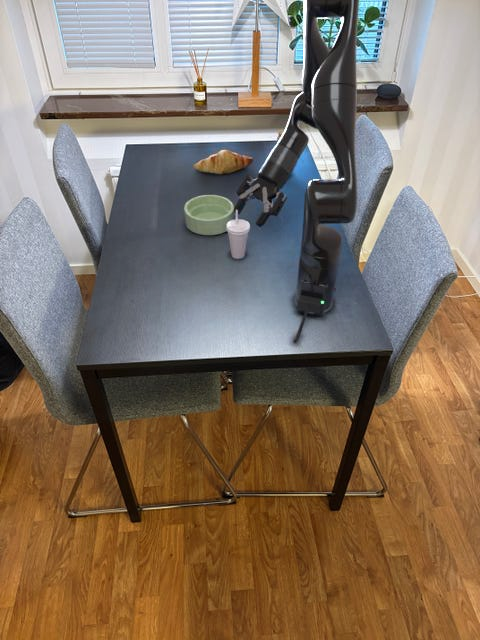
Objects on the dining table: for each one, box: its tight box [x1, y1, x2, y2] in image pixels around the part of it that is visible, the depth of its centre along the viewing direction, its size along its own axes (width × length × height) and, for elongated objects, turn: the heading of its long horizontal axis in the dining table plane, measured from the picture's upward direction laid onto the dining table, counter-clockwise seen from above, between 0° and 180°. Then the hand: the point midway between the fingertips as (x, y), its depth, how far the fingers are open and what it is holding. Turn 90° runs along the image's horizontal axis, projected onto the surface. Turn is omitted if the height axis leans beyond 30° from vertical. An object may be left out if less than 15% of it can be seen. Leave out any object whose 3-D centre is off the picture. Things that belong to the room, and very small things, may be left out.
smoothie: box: [226, 210, 251, 260], centre depth 137 cm, size 6×6×14 cm
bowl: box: [183, 194, 235, 236], centre depth 152 cm, size 15×15×6 cm
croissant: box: [193, 149, 254, 175], centre depth 178 cm, size 21×10×8 cm, turn 104°
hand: (246, 219), depth 137 cm, fingers open, 8 cm apart
